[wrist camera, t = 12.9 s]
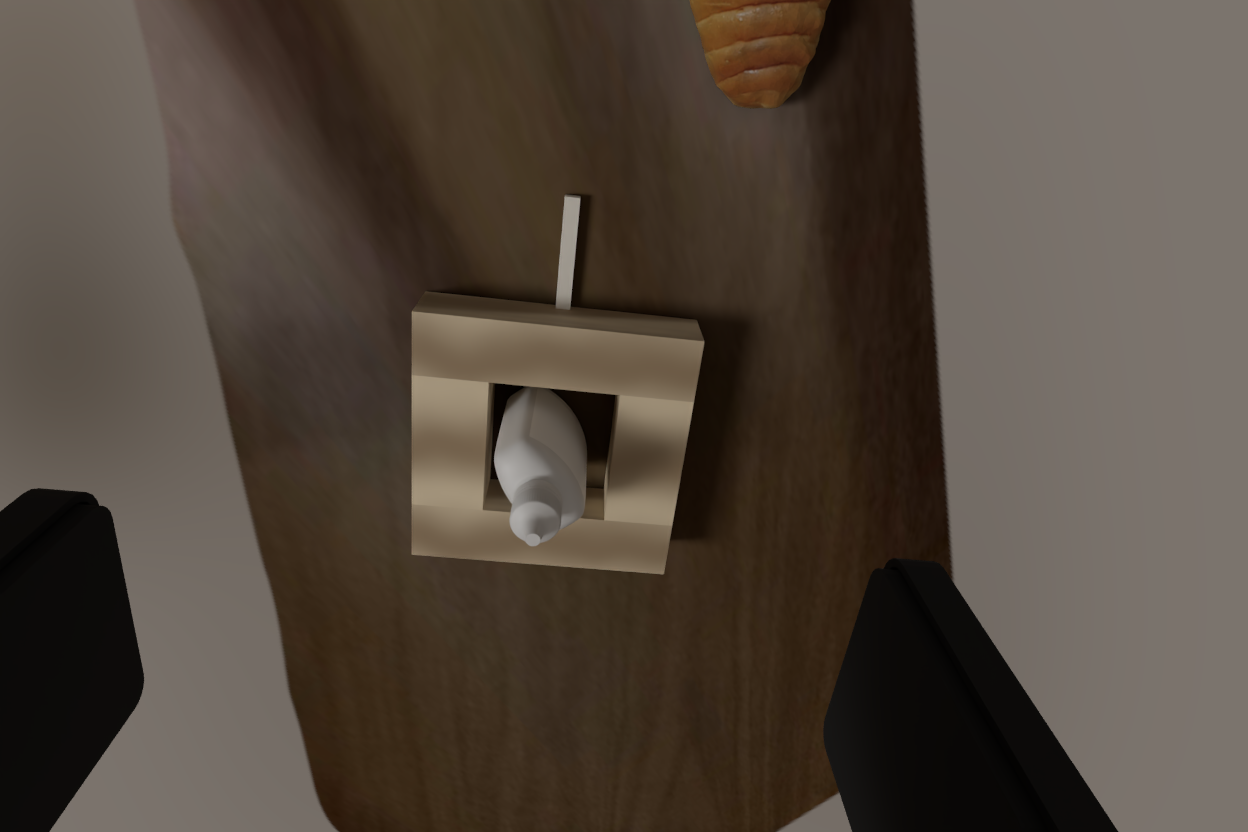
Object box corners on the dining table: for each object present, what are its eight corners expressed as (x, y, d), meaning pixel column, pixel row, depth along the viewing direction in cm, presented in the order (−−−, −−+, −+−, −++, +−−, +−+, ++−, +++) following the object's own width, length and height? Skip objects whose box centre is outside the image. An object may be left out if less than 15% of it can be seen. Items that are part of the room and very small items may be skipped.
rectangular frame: (425, 291, 42) (412, 311, 39) (696, 319, 43) (704, 341, 40) (423, 521, 48) (411, 554, 45) (659, 540, 49) (663, 574, 46)
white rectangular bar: (565, 194, 40) (564, 196, 39) (580, 196, 40) (580, 198, 39) (555, 304, 42) (555, 308, 42) (570, 306, 42) (570, 309, 42)
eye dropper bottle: (580, 376, 44) (575, 483, 34) (588, 461, 47) (586, 586, 36) (504, 382, 44) (475, 490, 34) (517, 466, 47) (493, 593, 36)
